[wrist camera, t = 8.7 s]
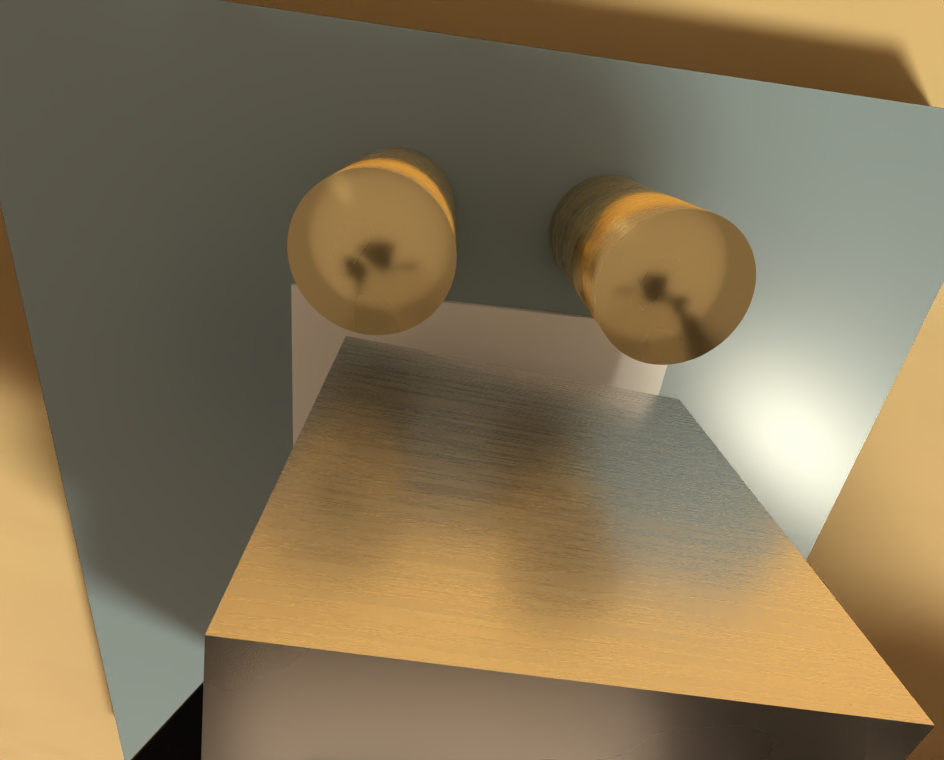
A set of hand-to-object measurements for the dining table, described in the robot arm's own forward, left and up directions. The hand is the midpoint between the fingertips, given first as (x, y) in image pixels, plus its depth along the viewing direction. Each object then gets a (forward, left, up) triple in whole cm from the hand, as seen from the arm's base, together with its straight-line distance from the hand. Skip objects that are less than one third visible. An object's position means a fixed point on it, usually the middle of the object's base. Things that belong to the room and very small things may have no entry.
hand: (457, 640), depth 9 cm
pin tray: (0, 0, -4) cm, 4 cm away
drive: (0, 0, -1) cm, 1 cm away
